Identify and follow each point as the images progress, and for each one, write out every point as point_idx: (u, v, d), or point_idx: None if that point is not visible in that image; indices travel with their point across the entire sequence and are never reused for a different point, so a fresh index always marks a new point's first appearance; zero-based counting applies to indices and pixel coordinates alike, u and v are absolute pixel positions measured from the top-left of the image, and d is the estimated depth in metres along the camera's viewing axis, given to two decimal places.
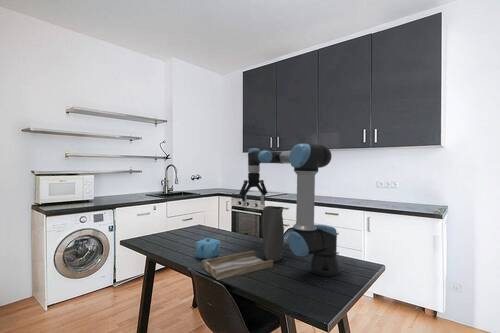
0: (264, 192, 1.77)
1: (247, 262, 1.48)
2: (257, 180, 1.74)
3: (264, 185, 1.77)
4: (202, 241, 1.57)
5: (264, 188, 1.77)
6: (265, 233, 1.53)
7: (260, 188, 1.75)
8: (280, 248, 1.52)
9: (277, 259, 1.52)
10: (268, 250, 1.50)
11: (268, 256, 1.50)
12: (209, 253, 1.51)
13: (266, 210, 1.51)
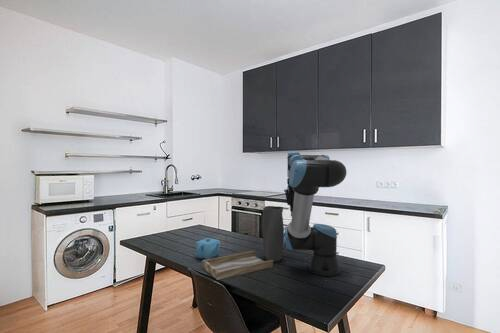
0: None
1: (247, 262, 1.48)
2: None
3: None
4: (202, 241, 1.57)
5: None
6: (265, 233, 1.53)
7: None
8: (280, 248, 1.52)
9: (277, 259, 1.52)
10: (268, 250, 1.50)
11: (268, 256, 1.50)
12: (209, 253, 1.51)
13: (266, 210, 1.51)
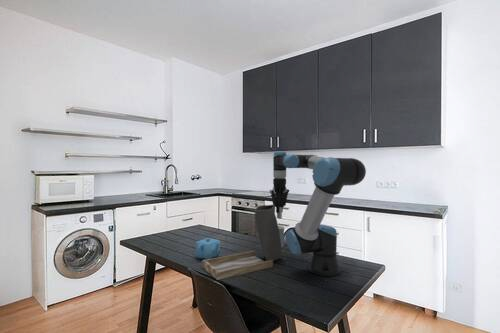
0: (283, 204, 1.58)
1: (247, 262, 1.48)
2: (284, 185, 1.58)
3: None
4: (202, 241, 1.57)
5: (285, 198, 1.58)
6: (261, 234, 1.52)
7: (282, 197, 1.57)
8: (278, 247, 1.52)
9: (277, 257, 1.52)
10: (266, 251, 1.50)
11: (267, 256, 1.50)
12: (209, 253, 1.51)
13: (258, 212, 1.48)
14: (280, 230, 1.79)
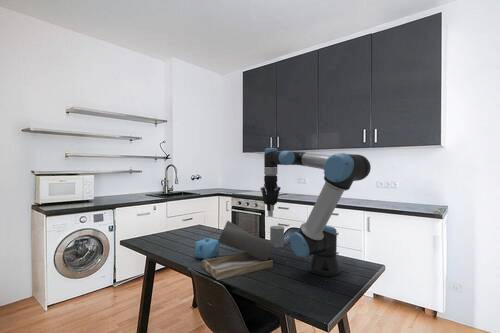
0: (274, 202, 1.54)
1: (247, 262, 1.48)
2: (275, 183, 1.55)
3: (278, 193, 1.56)
4: (201, 241, 1.57)
5: (276, 196, 1.55)
6: None
7: (273, 195, 1.54)
8: (261, 244, 1.51)
9: (269, 252, 1.50)
10: (256, 257, 1.50)
11: (262, 259, 1.50)
12: (207, 253, 1.51)
13: (220, 241, 1.52)
14: (280, 230, 1.79)
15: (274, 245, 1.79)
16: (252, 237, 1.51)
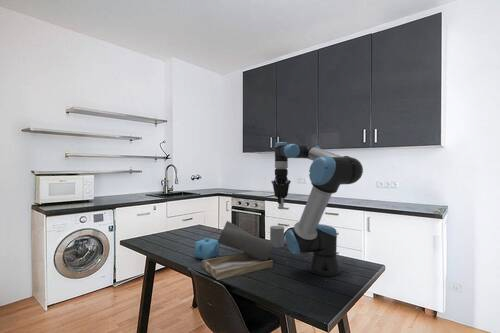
0: (284, 195, 1.58)
1: (247, 262, 1.48)
2: (286, 176, 1.59)
3: (288, 187, 1.59)
4: (201, 241, 1.57)
5: (287, 189, 1.59)
6: None
7: (283, 188, 1.57)
8: (261, 245, 1.51)
9: (269, 252, 1.50)
10: (256, 257, 1.50)
11: (261, 259, 1.50)
12: (207, 253, 1.51)
13: (219, 241, 1.52)
14: (280, 230, 1.79)
15: (274, 245, 1.79)
16: (252, 237, 1.51)
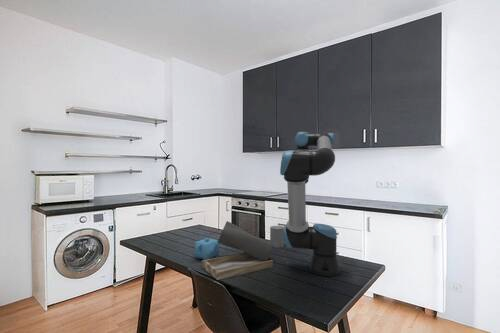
0: (305, 181, 1.71)
1: (247, 262, 1.48)
2: None
3: None
4: (201, 241, 1.57)
5: (307, 176, 1.72)
6: None
7: None
8: (260, 244, 1.51)
9: (269, 252, 1.50)
10: (256, 257, 1.50)
11: (261, 259, 1.50)
12: (206, 253, 1.51)
13: (219, 241, 1.52)
14: (280, 230, 1.79)
15: (274, 245, 1.79)
16: (251, 237, 1.51)
